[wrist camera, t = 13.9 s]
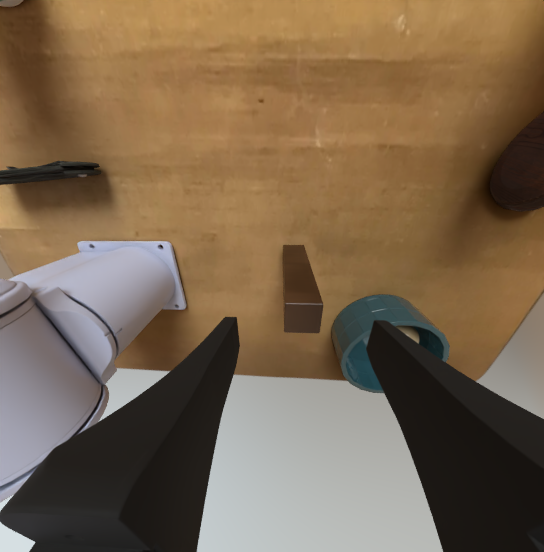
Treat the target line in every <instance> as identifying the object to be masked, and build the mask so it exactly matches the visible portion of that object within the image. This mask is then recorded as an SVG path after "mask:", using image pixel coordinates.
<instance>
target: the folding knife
mask: <svg viewBox="0 0 544 552" xmlns="http://www.w3.org/2000/svg"><path fill="white" fill-rule="evenodd" d="M57 163H58V164H57ZM97 167H100V166H99V165H98V164H97V163H88V162H65V161H57V162H53V163H50V164H46V165H42V166H38V167H28V168H20V169H18V168H15V167H7V168H8V169H10V170H2V171H0V185H3V184H17V183H28V182H38V181H47V180H56V179H65V178H74V177H86V176H92V175H99V174H101V173H102V172H101V171H98V170H95V169H94V168H97Z"/></svg>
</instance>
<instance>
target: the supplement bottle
mask: <svg viewBox="0 0 544 552" xmlns="http://www.w3.org/2000/svg"><path fill="white" fill-rule="evenodd" d="M23 1H24V0H0V6H4V7H14V6H16V5H19V4H20V3H21V2H23Z"/></svg>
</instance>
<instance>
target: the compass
mask: <svg viewBox="0 0 544 552" xmlns="http://www.w3.org/2000/svg"><path fill="white" fill-rule="evenodd" d="M490 192H491V194H492V196H493V198H494V199H495V201H496V202H497V204H499V205H500V206H502V207H503V208H505V209H510V210H515V211H530V210H535V209H538V208H541V207H544V112H542V113H541V114H540V115H538V116H537V117H536V118H535V119H534V120H533V121H532V122H531V123H529V124H528V125H527V126H526V127H525V128H524V129H523V130H522V131H521V132H520V133H519V134H518V135H517V136H516V137H515V138H514V140H513V141H512V142H511V143H510V144H509V145H508V147H507V148H506V150H505V151H504V152H503V154H502V155H501V157H500V158H499V160H498V162H497V164H496V166H495V168H494V170H493V173H492V177H491V181H490Z"/></svg>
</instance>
